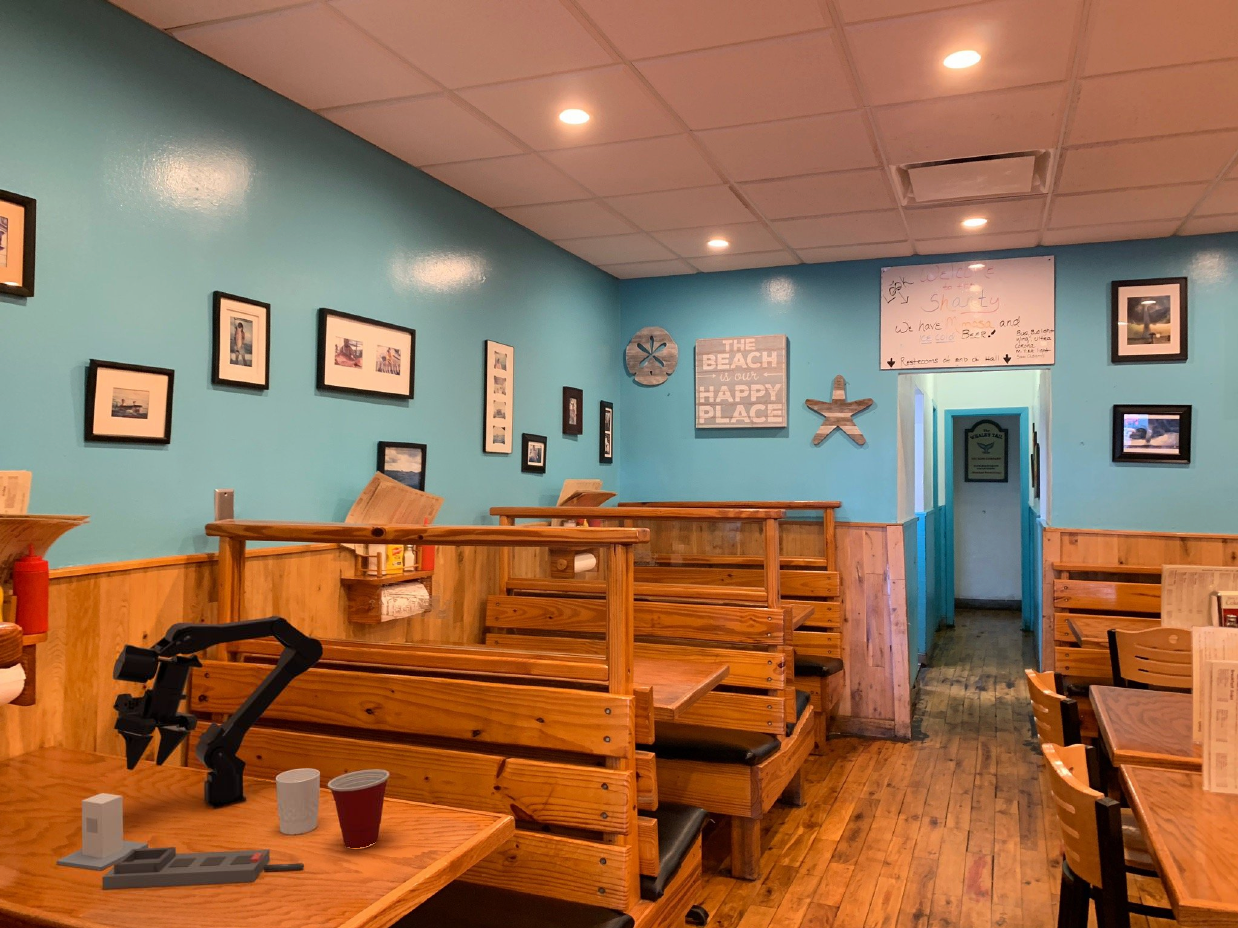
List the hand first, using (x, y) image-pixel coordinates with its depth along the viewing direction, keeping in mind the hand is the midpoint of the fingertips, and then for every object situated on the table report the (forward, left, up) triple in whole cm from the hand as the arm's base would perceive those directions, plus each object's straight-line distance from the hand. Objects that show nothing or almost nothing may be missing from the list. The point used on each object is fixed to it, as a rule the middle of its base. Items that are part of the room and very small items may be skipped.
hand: (144, 767), depth 175 cm
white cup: (-20, +25, -11) cm, 34 cm away
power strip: (-1, +34, -10) cm, 36 cm away
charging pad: (+10, +12, -10) cm, 19 cm away
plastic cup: (-25, +40, -11) cm, 49 cm away
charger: (+10, +12, -10) cm, 19 cm away
